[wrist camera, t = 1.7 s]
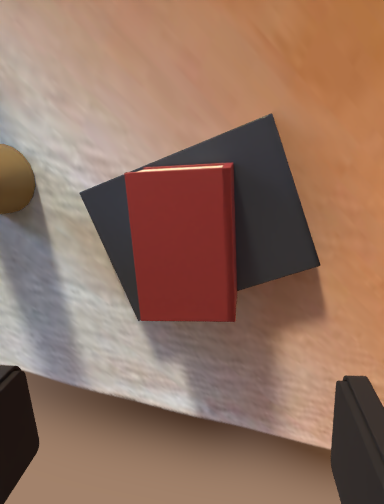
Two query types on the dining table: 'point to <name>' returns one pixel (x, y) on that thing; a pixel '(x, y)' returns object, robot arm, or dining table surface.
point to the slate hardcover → (246, 208)
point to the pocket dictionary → (184, 241)
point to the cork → (14, 180)
